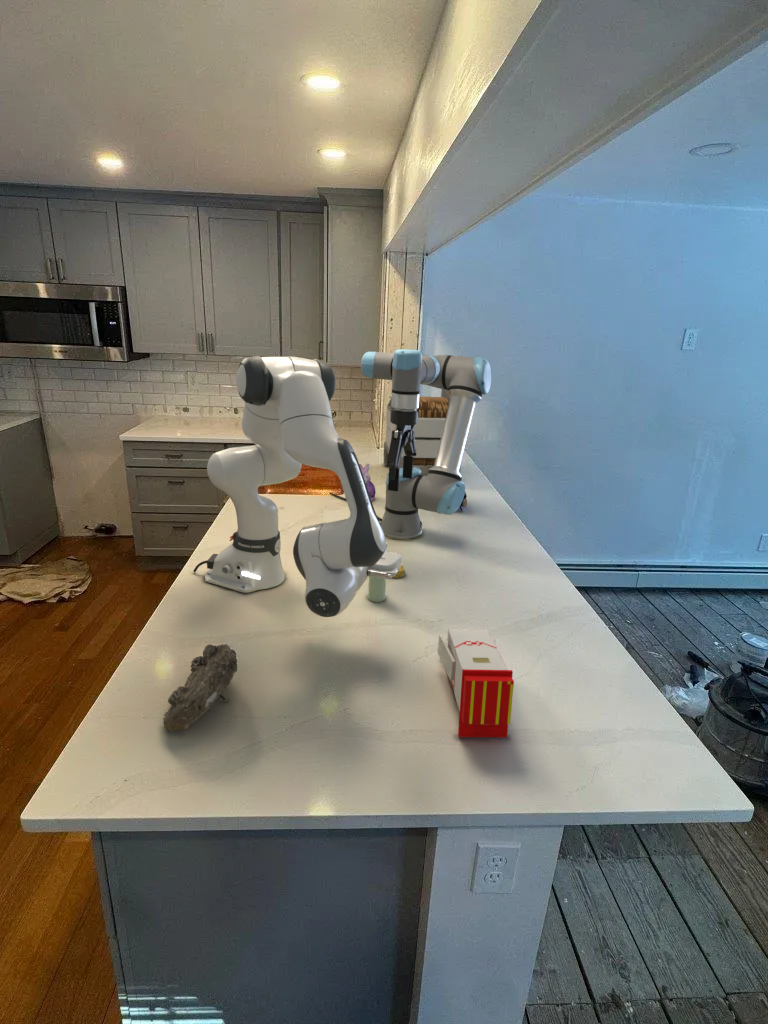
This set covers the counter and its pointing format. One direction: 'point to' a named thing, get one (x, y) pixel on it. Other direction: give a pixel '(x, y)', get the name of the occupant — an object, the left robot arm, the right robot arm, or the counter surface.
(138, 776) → the counter surface
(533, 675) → the counter surface
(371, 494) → the figurine
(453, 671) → the toy
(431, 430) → the white slatted crate
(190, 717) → the fossil
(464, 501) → the figurine character
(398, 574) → the lid
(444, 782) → the counter surface
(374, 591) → the jar
